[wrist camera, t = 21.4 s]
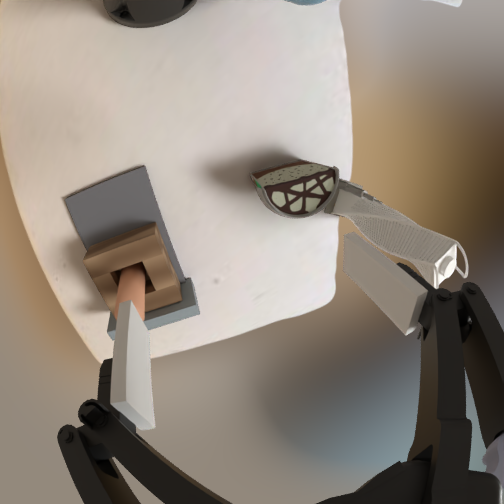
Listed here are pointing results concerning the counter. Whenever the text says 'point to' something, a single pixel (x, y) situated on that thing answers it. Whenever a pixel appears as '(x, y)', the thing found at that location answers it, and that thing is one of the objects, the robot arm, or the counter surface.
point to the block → (128, 253)
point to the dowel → (132, 288)
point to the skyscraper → (397, 233)
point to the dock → (124, 220)
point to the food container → (296, 187)
